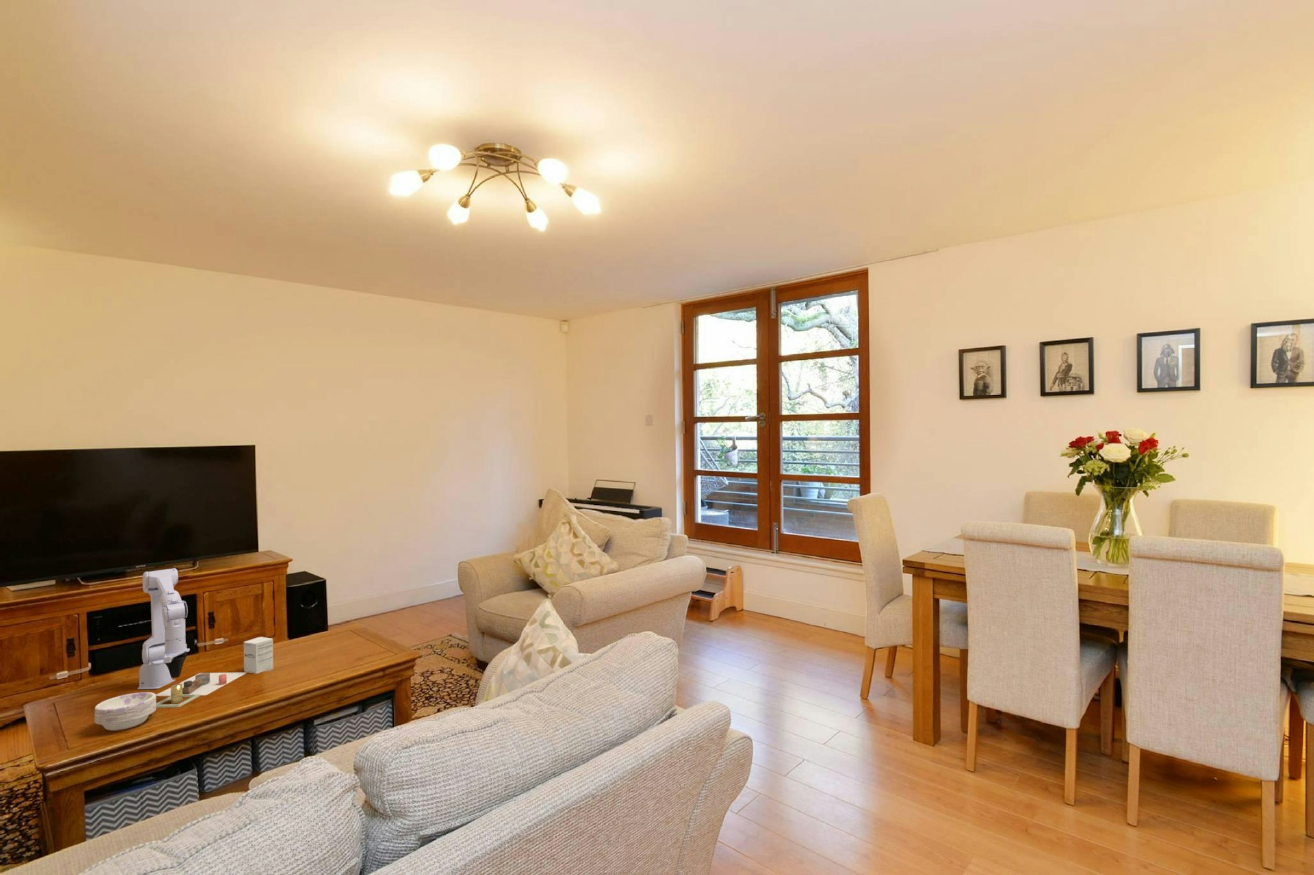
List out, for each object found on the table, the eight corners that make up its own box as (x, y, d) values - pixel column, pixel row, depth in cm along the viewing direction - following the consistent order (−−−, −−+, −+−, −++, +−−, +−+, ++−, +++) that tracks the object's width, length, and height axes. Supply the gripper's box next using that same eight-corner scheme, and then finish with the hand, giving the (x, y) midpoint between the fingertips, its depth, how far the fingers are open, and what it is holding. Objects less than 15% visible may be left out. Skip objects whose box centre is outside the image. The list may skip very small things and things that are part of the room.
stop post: (217, 685, 231) (217, 676, 231) (221, 682, 234) (221, 674, 234) (223, 685, 231) (223, 676, 231) (228, 682, 234) (228, 674, 234)
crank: (199, 681, 235) (199, 670, 235) (212, 680, 236) (212, 669, 236) (178, 694, 222) (178, 684, 222) (192, 693, 223) (192, 683, 223)
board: (153, 698, 222) (153, 695, 222) (199, 675, 244) (199, 673, 244) (206, 697, 222) (206, 695, 222) (247, 674, 244) (247, 672, 244)
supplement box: (243, 673, 245) (242, 641, 245) (261, 667, 252) (261, 636, 252) (256, 676, 242) (255, 643, 242) (274, 669, 249) (273, 637, 249)
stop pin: (168, 704, 215) (168, 687, 215) (175, 700, 218) (174, 683, 218) (178, 704, 215) (178, 686, 215) (184, 700, 218) (184, 683, 218)
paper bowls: (154, 710, 212) (153, 687, 212) (158, 724, 201) (158, 699, 201) (94, 724, 201) (93, 700, 202) (95, 740, 190) (94, 714, 190)
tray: (152, 710, 212) (152, 705, 212) (173, 698, 221) (173, 694, 221) (178, 709, 212) (178, 705, 212) (199, 698, 221) (199, 694, 221)
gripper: (180, 642, 211) (181, 682, 211) (196, 631, 225) (197, 668, 225) (155, 645, 209) (156, 685, 209) (173, 633, 223) (173, 671, 222)
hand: (175, 677), depth 217 cm, fingers closed
